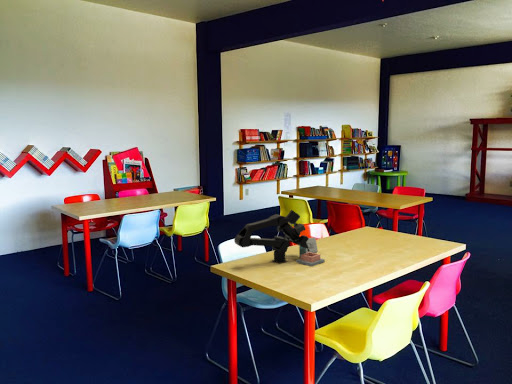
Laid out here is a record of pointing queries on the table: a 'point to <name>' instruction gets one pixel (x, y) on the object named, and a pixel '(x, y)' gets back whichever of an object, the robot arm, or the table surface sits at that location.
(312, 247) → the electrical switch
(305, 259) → the socket plate
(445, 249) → the table surface
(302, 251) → the peg
